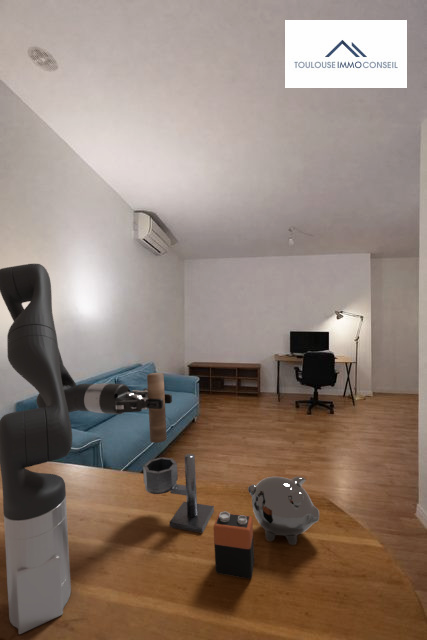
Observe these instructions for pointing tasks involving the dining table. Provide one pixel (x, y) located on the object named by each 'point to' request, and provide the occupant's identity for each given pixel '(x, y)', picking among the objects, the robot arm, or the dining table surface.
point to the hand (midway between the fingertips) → (166, 401)
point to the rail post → (157, 415)
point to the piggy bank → (283, 507)
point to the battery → (234, 545)
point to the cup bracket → (178, 491)
